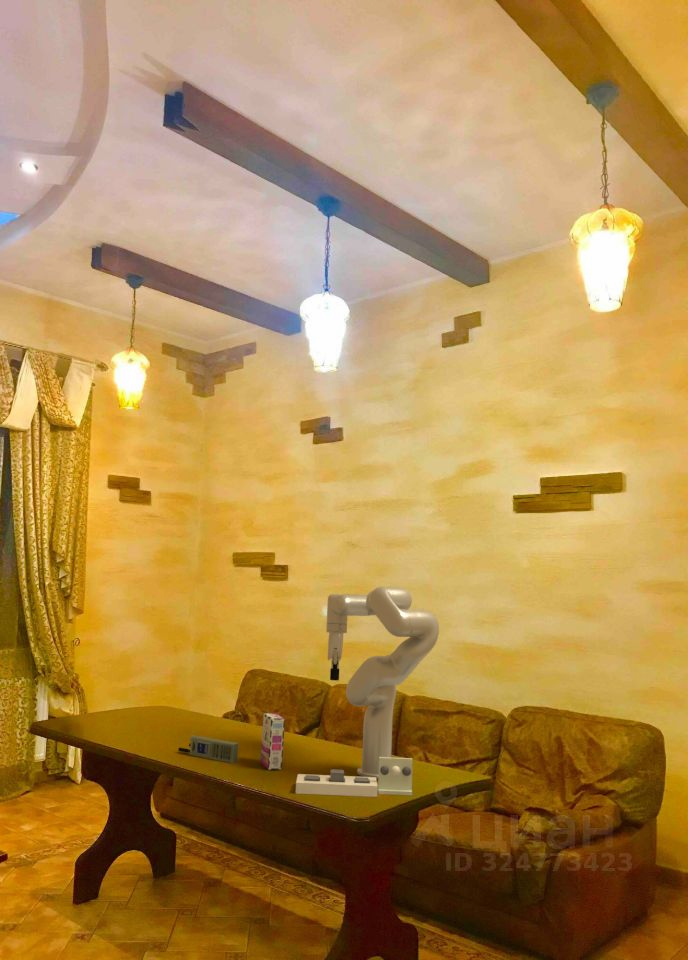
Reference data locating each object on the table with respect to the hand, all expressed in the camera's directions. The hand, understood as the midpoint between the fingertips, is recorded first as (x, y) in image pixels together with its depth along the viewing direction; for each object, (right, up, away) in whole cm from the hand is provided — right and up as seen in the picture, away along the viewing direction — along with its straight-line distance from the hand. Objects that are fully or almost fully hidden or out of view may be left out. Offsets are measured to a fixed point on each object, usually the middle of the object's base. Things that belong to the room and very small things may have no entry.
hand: (334, 680), depth 260 cm
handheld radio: (-44, -24, -11) cm, 52 cm away
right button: (+9, -21, -45) cm, 50 cm away
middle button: (+1, -19, -44) cm, 48 cm away
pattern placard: (+19, -21, -45) cm, 53 cm away
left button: (-6, -20, -45) cm, 49 cm away
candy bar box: (-21, -24, -19) cm, 37 cm away
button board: (+1, -21, -45) cm, 49 cm away
